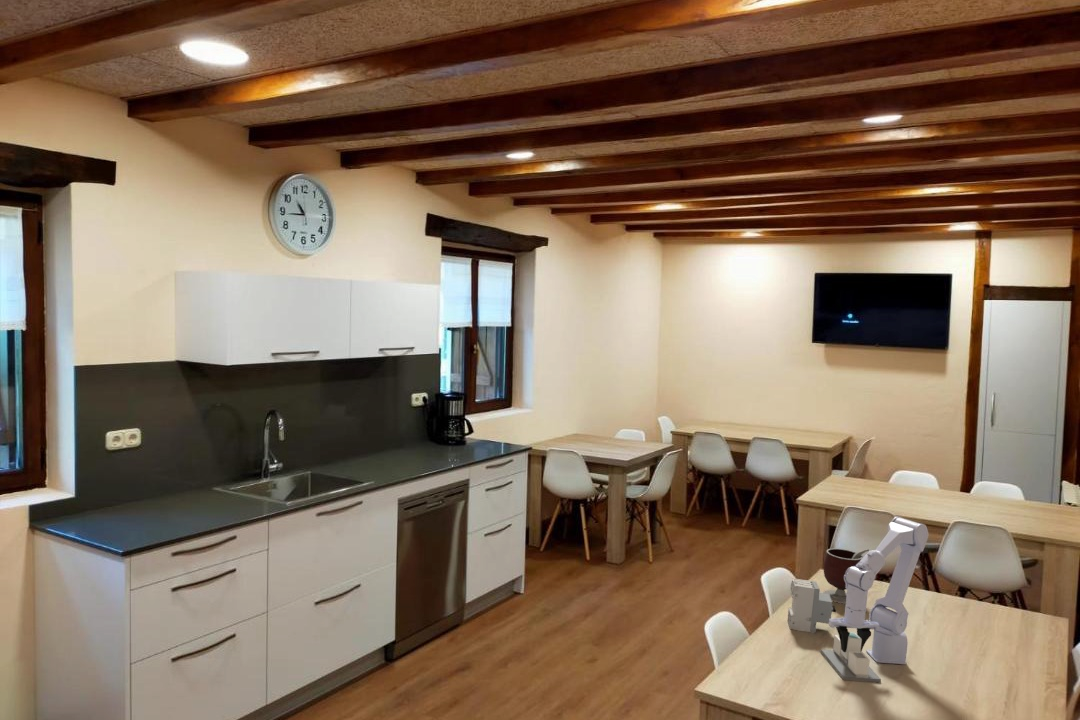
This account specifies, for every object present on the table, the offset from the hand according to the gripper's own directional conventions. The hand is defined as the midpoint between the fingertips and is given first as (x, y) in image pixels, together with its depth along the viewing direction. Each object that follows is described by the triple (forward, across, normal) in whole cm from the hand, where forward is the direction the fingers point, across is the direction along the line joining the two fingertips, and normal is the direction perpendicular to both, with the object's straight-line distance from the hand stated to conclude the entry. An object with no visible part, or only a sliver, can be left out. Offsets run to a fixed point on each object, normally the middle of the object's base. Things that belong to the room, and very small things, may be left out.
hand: (851, 651), depth 235 cm
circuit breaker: (+5, +2, -28) cm, 29 cm away
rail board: (+5, 0, 0) cm, 5 cm away
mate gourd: (+5, -21, -59) cm, 63 cm away
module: (+2, 0, 0) cm, 2 cm away
